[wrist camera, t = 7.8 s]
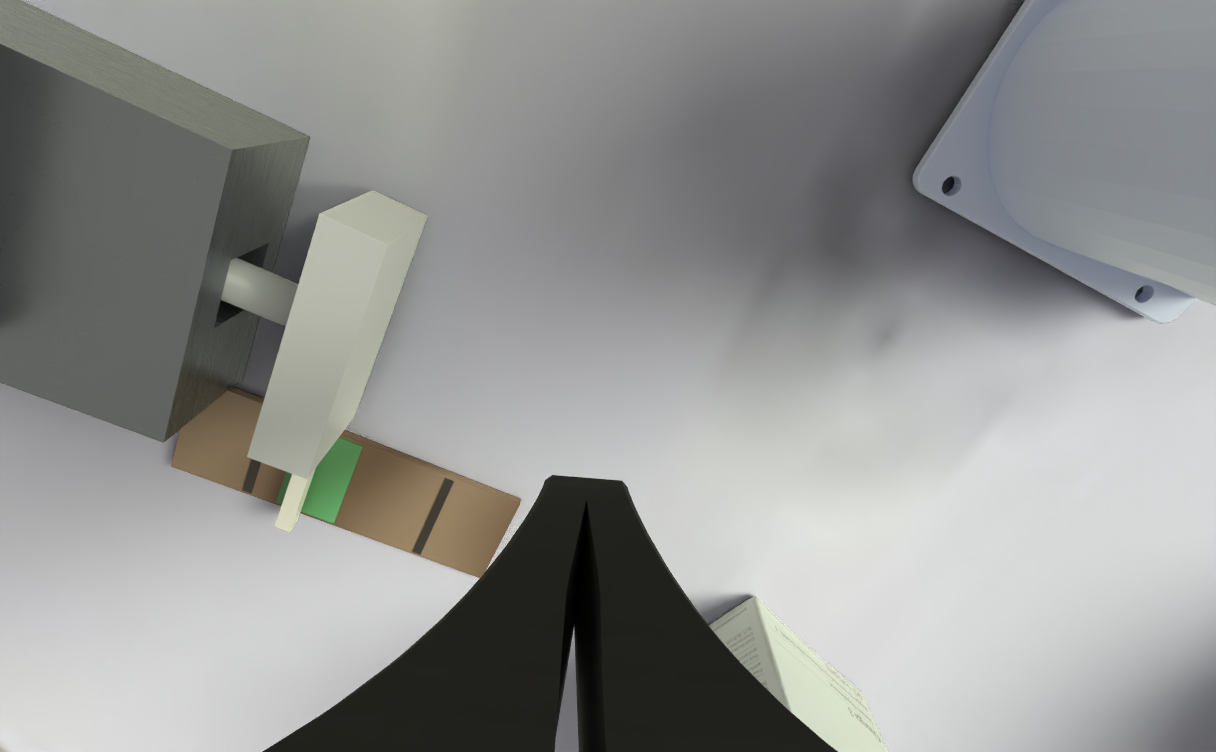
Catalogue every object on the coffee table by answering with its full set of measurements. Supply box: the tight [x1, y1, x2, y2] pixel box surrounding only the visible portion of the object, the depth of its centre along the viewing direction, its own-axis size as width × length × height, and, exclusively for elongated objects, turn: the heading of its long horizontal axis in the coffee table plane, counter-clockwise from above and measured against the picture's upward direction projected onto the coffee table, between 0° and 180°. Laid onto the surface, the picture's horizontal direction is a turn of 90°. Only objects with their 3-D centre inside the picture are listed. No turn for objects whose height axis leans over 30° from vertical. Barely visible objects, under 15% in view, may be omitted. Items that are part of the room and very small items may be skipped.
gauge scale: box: [171, 387, 521, 578], centre depth 22 cm, size 11×4×1 cm, turn 64°
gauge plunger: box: [221, 190, 428, 532], centre depth 17 cm, size 11×12×4 cm
